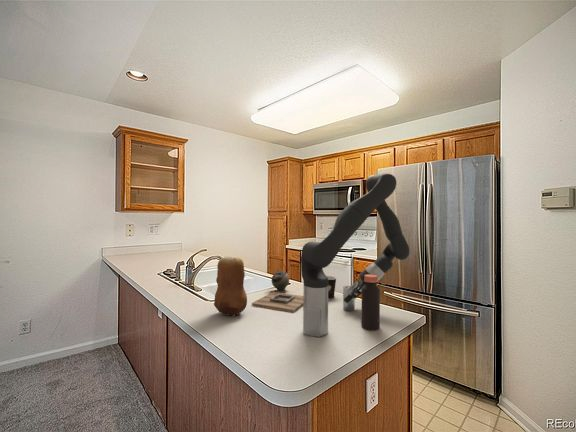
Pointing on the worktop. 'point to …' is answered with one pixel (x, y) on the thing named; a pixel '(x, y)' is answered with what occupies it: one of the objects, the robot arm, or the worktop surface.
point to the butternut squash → (230, 286)
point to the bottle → (370, 303)
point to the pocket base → (280, 302)
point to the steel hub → (351, 304)
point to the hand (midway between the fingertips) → (344, 299)
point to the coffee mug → (331, 286)
